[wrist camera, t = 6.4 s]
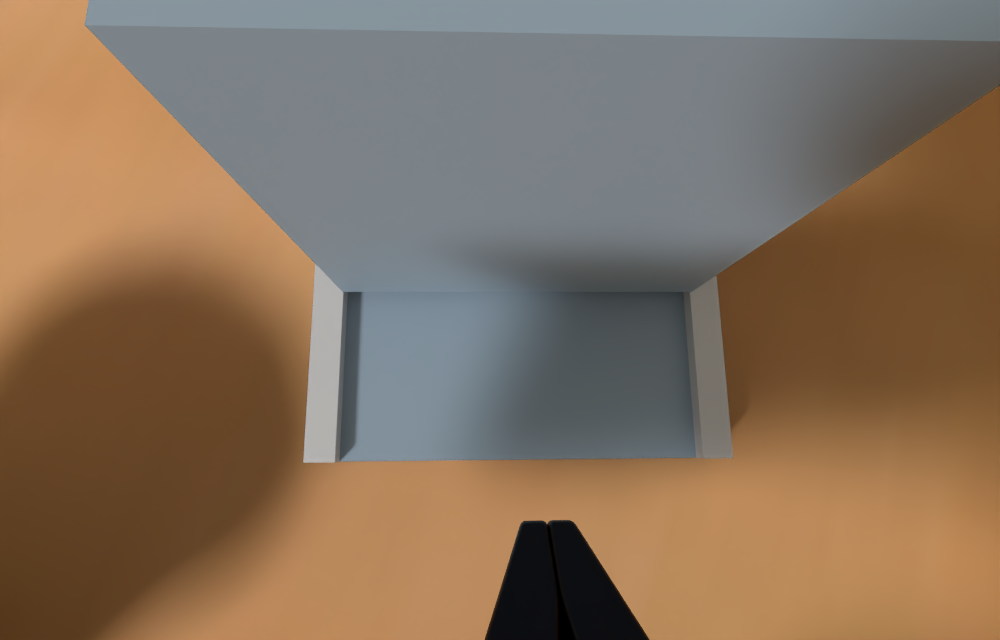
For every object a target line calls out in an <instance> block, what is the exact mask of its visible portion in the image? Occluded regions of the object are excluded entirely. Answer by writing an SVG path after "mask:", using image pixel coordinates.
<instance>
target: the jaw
mask: <svg viewBox="0 0 1000 640" xmlns="http://www.w3.org/2000/svg"><path fill="white" fill-rule="evenodd" d="M85 26H86V27H87V28H88V29H89V30H90V31H91V32H92V33H93V34H94V35H95V36H96V37H97V38H98V39H99V40H100V41H101V42H102V43H103V45H104V46H105V47H106V48H107V49H108V50H109V51H110V52H111V53H112V54H113V55H114V56H115V57H116V58H117V59H118V60H119V61H120V62H121V63H122V64H123V65H124V66H125V67H126V68H127V69H128V70H129V71H130V72H131V73H132V75H133V76H134V77H135V78H136V79H137V80H138V81H139V82H140V83H141V84H142V85H143V86H144V87H145V88H146V89H147V90H148V91H149V92H150V93H151V94H152V95H153V96H154V97H155V98H156V99H157V100H158V101H159V102H160V104H161V105H162V106H163V107H164V108H165V109H166V110H167V111H168V112H169V113H170V114H171V115H172V116H173V117H174V118H175V119H176V120H177V121H178V122H179V123H180V124H181V125H182V126H183V127H184V128H185V129H186V130H187V131H188V132H189V134H190V135H191V136H192V137H193V138H194V139H195V140H196V141H197V142H198V143H199V144H200V145H201V146H202V147H203V148H204V149H205V150H206V151H207V152H208V153H209V154H210V155H211V156H212V157H213V158H214V159H215V160H216V161H217V162H218V164H219V165H220V166H221V167H222V168H223V169H224V170H225V171H226V172H227V173H228V174H229V175H230V176H231V177H232V178H233V179H234V180H235V181H236V182H237V183H238V184H239V185H240V186H241V187H242V188H243V189H244V190H245V191H246V192H247V194H248V195H249V196H250V197H251V198H252V199H253V200H254V201H255V202H256V203H257V204H258V205H259V206H260V207H261V208H262V209H263V210H264V211H265V212H266V213H267V214H268V215H269V216H270V217H271V218H272V219H273V220H274V221H275V223H276V224H277V225H278V226H279V227H280V228H281V229H282V230H283V231H284V232H285V233H286V234H287V235H288V236H289V237H290V238H291V239H292V240H293V241H294V242H295V243H296V244H297V245H298V246H299V247H300V248H301V249H302V250H303V251H304V253H305V254H306V255H307V256H308V257H309V258H310V259H311V260H312V261H313V262H314V263H315V264H316V265H317V266H318V267H319V268H320V269H321V270H322V271H323V272H324V273H325V274H326V275H327V276H328V277H329V278H330V279H331V280H332V281H333V283H334V284H335V285H336V286H337V287H338V288H339V289H340V290H341V291H342V292H692V291H694V290H695V289H697V288H698V287H700V286H701V285H703V284H704V283H706V282H707V281H709V280H710V279H712V278H713V277H715V276H716V275H718V274H719V273H721V272H722V271H724V270H725V269H727V268H728V267H730V266H731V265H733V264H734V263H736V262H737V261H738V260H740V259H741V258H743V257H744V256H746V255H747V254H749V253H750V252H752V251H753V250H755V249H756V248H758V247H759V246H761V245H762V244H764V243H765V242H767V241H768V240H770V239H771V238H773V237H774V236H776V235H777V234H779V233H780V232H782V231H783V230H785V229H786V228H788V227H789V226H791V225H792V224H794V223H795V222H797V221H798V220H800V219H801V218H803V217H804V216H806V215H807V214H808V213H810V212H811V211H813V210H814V209H816V208H817V207H819V206H820V205H822V204H823V203H825V202H826V201H828V200H829V199H831V198H832V197H834V196H835V195H837V194H838V193H840V192H841V191H843V190H844V189H846V188H847V187H849V186H850V185H852V184H853V183H855V182H856V181H858V180H859V179H861V178H862V177H864V176H865V175H867V174H868V173H870V172H871V171H873V170H874V169H876V168H877V167H878V166H880V165H881V164H883V163H884V162H886V161H887V160H889V159H890V158H892V157H893V156H895V155H896V154H898V153H899V152H901V151H902V150H904V149H905V148H907V147H908V146H910V145H911V144H913V143H914V142H916V141H917V140H919V139H920V138H922V137H923V136H925V135H926V134H928V133H929V132H931V131H932V130H934V129H935V128H937V127H938V126H940V125H941V124H943V123H944V122H946V121H947V120H948V119H950V118H951V117H953V116H954V115H956V114H957V113H959V112H960V111H962V110H963V109H965V108H966V107H968V106H969V105H971V104H972V103H974V102H975V101H977V100H978V99H980V98H981V97H983V96H984V95H986V94H987V93H989V92H990V91H992V90H993V89H995V88H996V87H998V86H999V85H1000V0H89V2H88V8H87V14H86V21H85Z"/></svg>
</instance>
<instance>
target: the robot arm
mask: <svg viewBox="0 0 1000 640" xmlns="http://www.w3.org/2000/svg"><path fill="white" fill-rule="evenodd" d="M485 640H649V638H648V637H647V635H646V633H645V632H644V630H643V629H642V627H641V626H640V624H639V623H638V621H637V619H636V618H635V616H634V615H633V613H632V612H631V610H630V608H629V607H628V605H627V604H626V602H625V601H624V599H623V598H622V596H621V594H620V593H619V591H618V590H617V588H616V587H615V585H614V584H613V582H612V580H611V579H610V577H609V576H608V574H607V573H606V571H605V569H604V568H603V566H602V565H601V563H600V562H599V560H598V559H597V557H596V555H595V554H594V552H593V551H592V549H591V548H590V546H589V545H588V543H587V541H586V540H585V538H584V537H583V535H582V534H581V532H580V530H579V529H578V527H577V526H576V525H575V523H574V522H572V521H570V520H552V521H549V522H548V524H546V522H544V521H523V522H522V523H521V525H520V527H519V531H518V534H517V537H516V540H515V544H514V547H513V550H512V553H511V556H510V560H509V563H508V566H507V569H506V573H505V576H504V579H503V582H502V585H501V589H500V592H499V595H498V598H497V602H496V605H495V608H494V611H493V614H492V618H491V621H490V624H489V627H488V631H487V634H486V637H485Z"/></svg>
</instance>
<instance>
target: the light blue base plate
mask: <svg viewBox="0 0 1000 640" xmlns="http://www.w3.org/2000/svg"><path fill="white" fill-rule="evenodd" d="M620 458H733V450H732V439H731V428H730V417H729V406H728V395H727V384H726V373H725V362H724V351H723V340H722V329H721V318H720V307H719V296H718V285H717V275H716V276H715V277H713V278H712V279H710V280H709V281H707V282H706V283H704V284H703V285H701V286H700V287H698V288H697V289H695V290H694V291H692V292H342V291H341V290H340V289H339V288H338V287H337V286H336V285H335V284H334V283H333V281H332V280H331V279H330V278H329V277H328V276H327V275H326V274H325V273H324V272H323V271H322V270H321V269H320V268H319V267H318V266H317V265H316V264H315V279H314V295H313V311H312V328H311V344H310V360H309V377H308V393H307V409H306V426H305V442H304V458H303V463H324V462H339V461H429V460H525V459H620Z"/></svg>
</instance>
